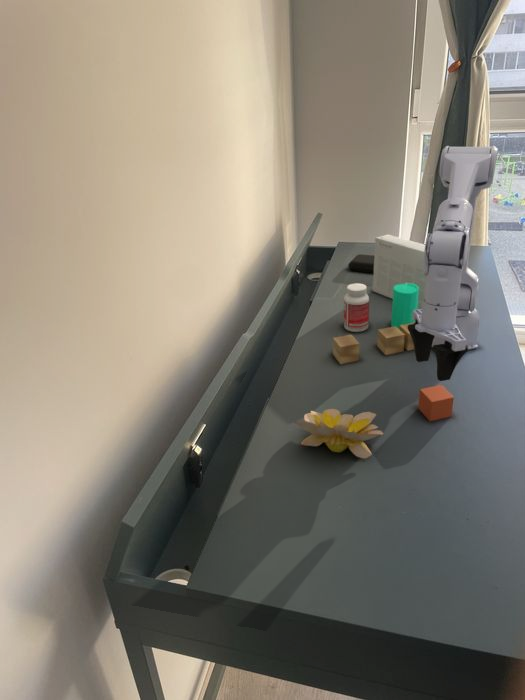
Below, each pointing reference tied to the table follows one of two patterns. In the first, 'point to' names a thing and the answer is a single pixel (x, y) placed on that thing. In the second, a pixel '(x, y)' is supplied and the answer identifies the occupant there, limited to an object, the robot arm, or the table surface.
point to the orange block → (435, 402)
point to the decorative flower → (340, 431)
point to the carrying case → (362, 263)
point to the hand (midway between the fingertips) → (432, 369)
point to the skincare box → (398, 265)
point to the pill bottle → (356, 308)
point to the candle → (404, 304)
